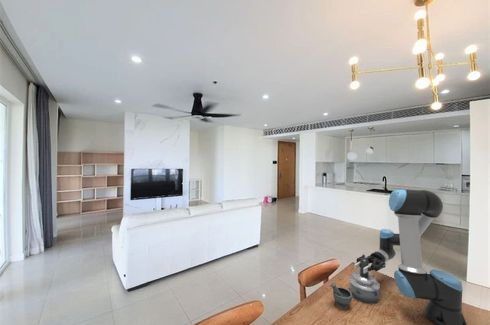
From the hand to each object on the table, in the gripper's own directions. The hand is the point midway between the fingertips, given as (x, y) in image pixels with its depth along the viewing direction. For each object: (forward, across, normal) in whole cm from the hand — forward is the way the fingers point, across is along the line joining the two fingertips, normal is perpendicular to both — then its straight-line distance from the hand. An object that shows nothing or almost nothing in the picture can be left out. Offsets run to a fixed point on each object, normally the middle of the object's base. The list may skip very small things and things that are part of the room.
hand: (359, 268), depth 120 cm
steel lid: (-5, 0, -8) cm, 9 cm away
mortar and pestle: (+14, +3, -17) cm, 22 cm away
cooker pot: (-5, 0, -17) cm, 18 cm away
